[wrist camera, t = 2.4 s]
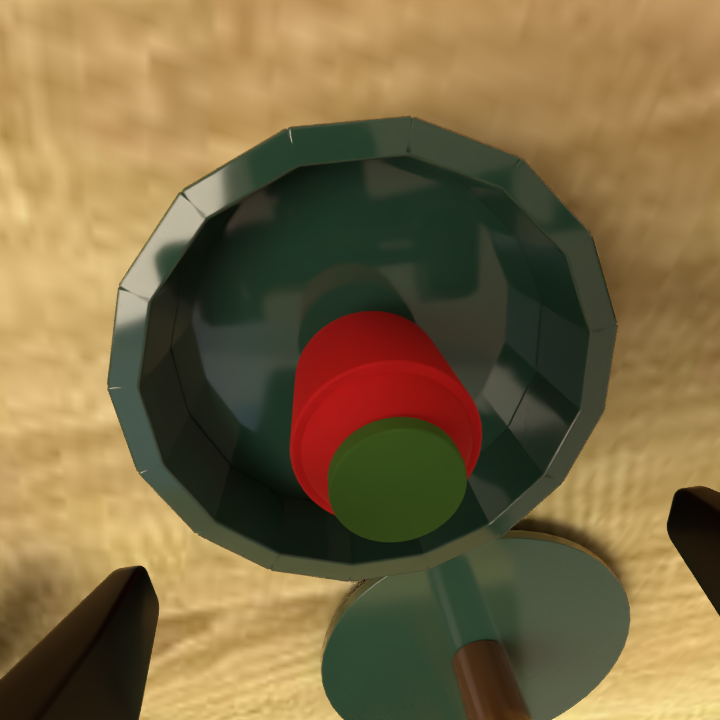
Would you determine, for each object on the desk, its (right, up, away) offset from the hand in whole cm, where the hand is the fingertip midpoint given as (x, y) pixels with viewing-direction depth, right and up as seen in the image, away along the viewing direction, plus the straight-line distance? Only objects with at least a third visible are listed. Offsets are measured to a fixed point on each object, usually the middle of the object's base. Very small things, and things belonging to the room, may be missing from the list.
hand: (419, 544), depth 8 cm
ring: (-1, +3, +8) cm, 9 cm away
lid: (+4, -11, +14) cm, 18 cm away
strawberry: (-1, +3, +7) cm, 8 cm away
